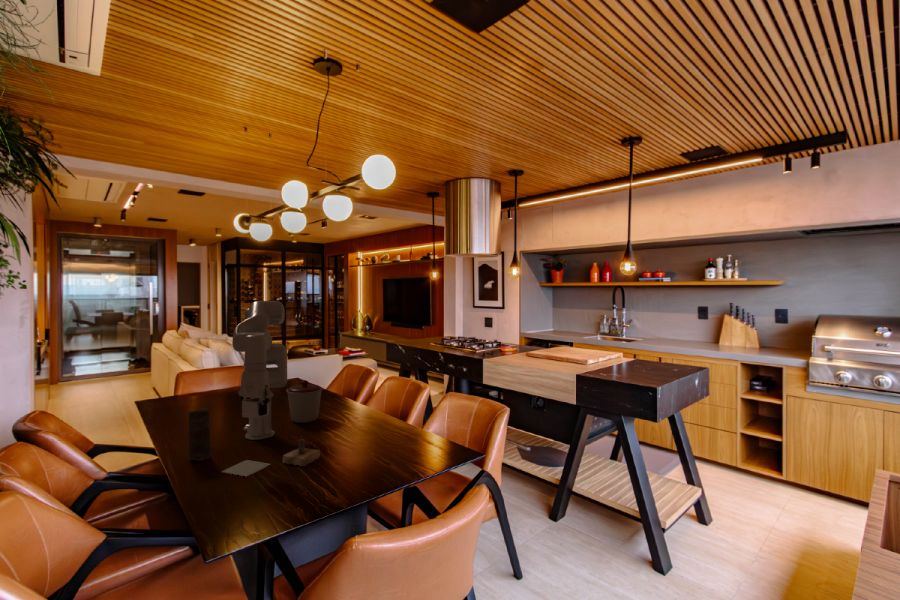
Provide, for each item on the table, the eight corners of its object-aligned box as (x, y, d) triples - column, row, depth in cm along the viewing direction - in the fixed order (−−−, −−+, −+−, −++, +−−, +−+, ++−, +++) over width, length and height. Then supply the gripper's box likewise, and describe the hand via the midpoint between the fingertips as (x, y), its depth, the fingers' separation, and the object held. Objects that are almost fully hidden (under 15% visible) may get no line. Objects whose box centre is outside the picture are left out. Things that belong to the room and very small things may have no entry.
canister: (308, 413, 239) (308, 375, 239) (329, 419, 229) (329, 379, 228) (279, 421, 224) (279, 381, 224) (300, 427, 214) (300, 385, 214)
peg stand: (282, 463, 168) (282, 442, 168) (299, 454, 178) (299, 435, 178) (303, 466, 165) (303, 445, 165) (320, 457, 174) (320, 437, 174)
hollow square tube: (241, 416, 162) (242, 401, 162) (255, 412, 168) (255, 397, 168) (256, 418, 160) (256, 402, 160) (268, 413, 166) (268, 398, 166)
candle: (187, 463, 167) (187, 412, 167) (189, 457, 174) (189, 408, 174) (210, 460, 171) (210, 410, 171) (210, 454, 177) (210, 406, 177)
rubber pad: (221, 472, 159) (221, 471, 159) (246, 460, 171) (246, 459, 171) (246, 477, 155) (246, 476, 155) (270, 465, 167) (270, 463, 167)
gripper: (229, 367, 163) (229, 414, 163) (267, 370, 158) (267, 418, 158) (244, 364, 170) (244, 409, 170) (281, 366, 165) (281, 413, 165)
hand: (255, 413), depth 164 cm, fingers closed on hollow square tube, 6 cm apart
